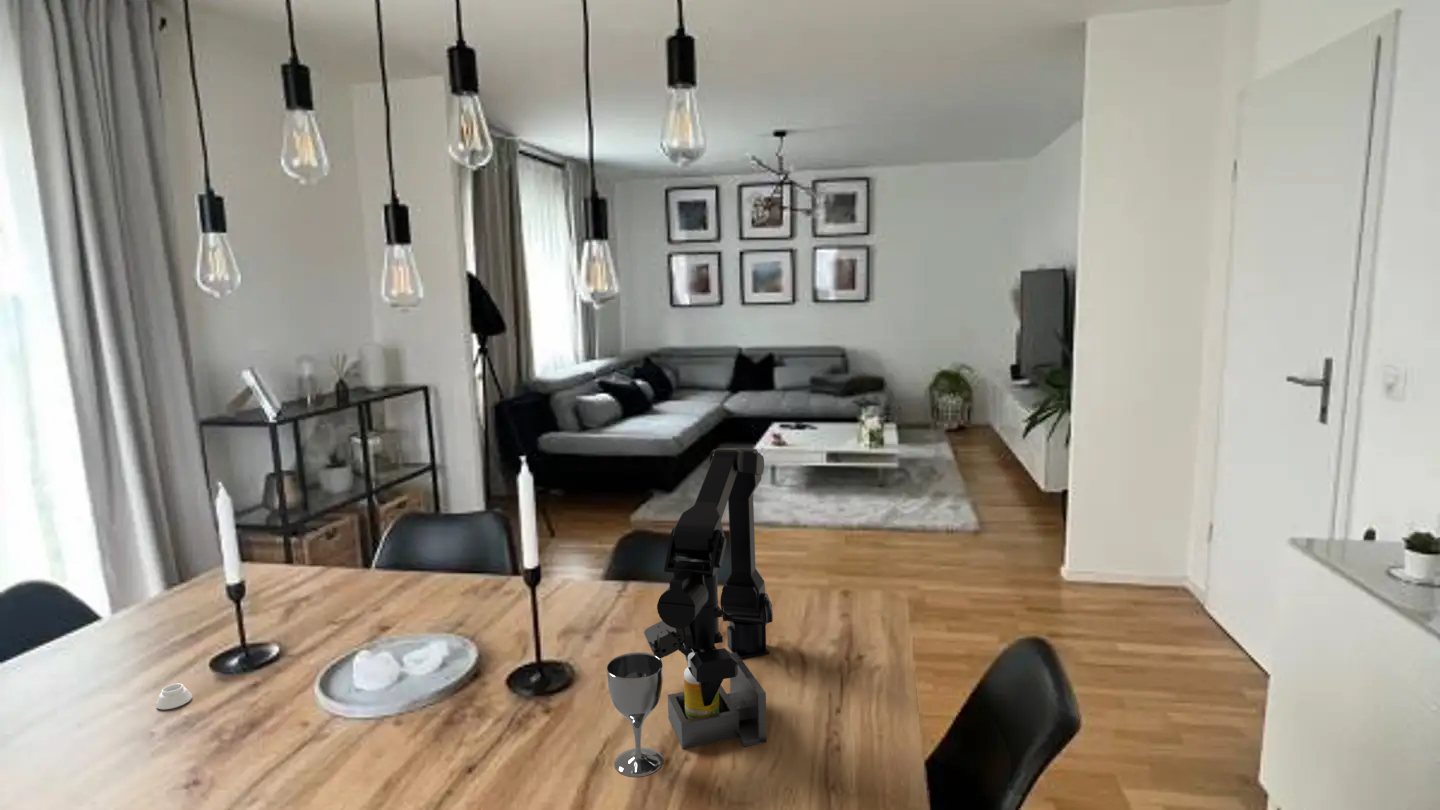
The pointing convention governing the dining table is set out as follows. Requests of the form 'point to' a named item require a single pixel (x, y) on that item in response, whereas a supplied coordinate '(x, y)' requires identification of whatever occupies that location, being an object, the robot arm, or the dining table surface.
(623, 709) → the wine glass
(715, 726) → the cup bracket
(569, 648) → the dining table surface
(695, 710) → the supplement bottle
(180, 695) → the white upside-down bowl
